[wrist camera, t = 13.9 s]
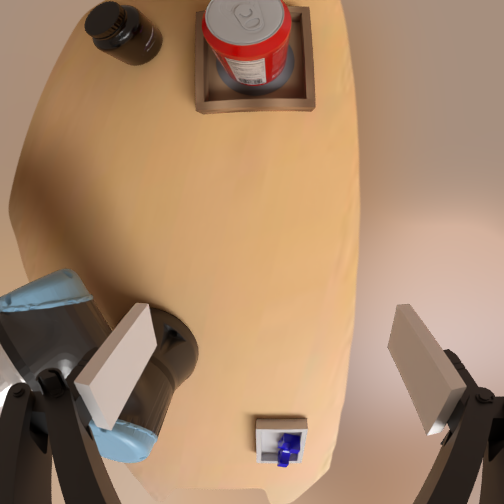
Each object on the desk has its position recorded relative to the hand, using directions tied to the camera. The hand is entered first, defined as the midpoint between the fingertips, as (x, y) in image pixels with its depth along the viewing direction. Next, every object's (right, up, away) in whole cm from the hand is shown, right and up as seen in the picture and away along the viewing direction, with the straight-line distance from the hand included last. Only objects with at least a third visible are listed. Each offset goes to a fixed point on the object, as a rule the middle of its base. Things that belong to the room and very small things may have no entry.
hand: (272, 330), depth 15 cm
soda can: (-1, +28, +18) cm, 33 cm away
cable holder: (+6, -37, +40) cm, 55 cm away
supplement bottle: (-17, +33, +18) cm, 42 cm away
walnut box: (-1, +29, +18) cm, 34 cm away
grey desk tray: (+5, -36, +40) cm, 54 cm away
